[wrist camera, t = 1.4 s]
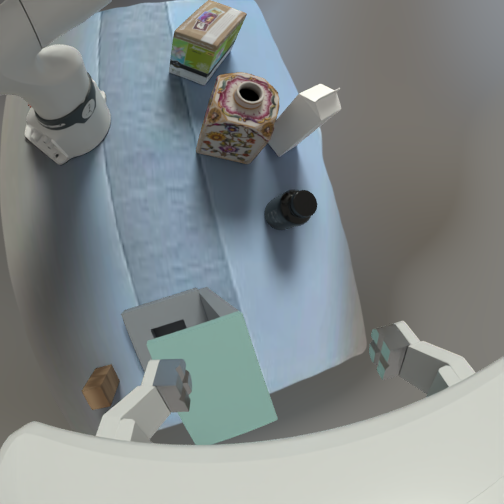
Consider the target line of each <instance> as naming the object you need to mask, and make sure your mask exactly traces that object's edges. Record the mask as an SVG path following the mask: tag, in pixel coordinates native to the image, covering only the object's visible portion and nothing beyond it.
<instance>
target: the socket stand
mask: <svg viewBox="0 0 504 504" xmlns="http://www.w3.org/2000/svg"><path fill="white" fill-rule="evenodd" d="M121 315H122V318H123V320H124V323H125V326H126V328H127V331H128V334H129V336H130V339H131V341H132V344H133V346H134V348H135V351H136V353H137V356H138V358H139V360H140V362H141V365H142V367H143V369H144V371H146V368H147V365H148V362H149V361H150V360H161V359H184V361H185V363H186V370H187V371H189V373H190V375H191V379H192V392H191V393H190V394H189V397H190V400H191V401H190V409H189V412H178V414H179V416H180V418H181V420H182V422H183V423H184V425H185V427H186V429H187V431H188V432H189V434H190V436H191V438H192V439H193V441H194V443H195V445H212V444H215V443H218V442H221V441H224V440H226V439H230V438H232V437H235V436H238V435H241V434H243V433H246V432H249V431H251V430H254V429H256V428H259V427H261V426H264V425H266V424H268V423H271V422H273V421H275V420H277V419H278V418H277V415H276V413H275V410H274V407H273V404H272V401H271V398H270V395H269V392H268V389H267V387H266V384H265V381H264V378H263V375H262V372H261V369H260V366H259V363H258V360H257V357H256V354H255V351H254V348H253V345H252V342H251V339H250V336H249V333H248V330H247V327H246V324H245V320H244V317H243V314H242V313H241V312H240V311H238V310H237V309H236V308H234V307H233V306H232V305H230V304H229V303H227V302H226V301H225V300H223V299H222V298H221V297H219V296H218V295H217V294H215V293H214V292H213V291H211V290H210V289H209V288H207V287H205V288H202V289H199V290H198V289H197V288H193V289H190V290H187V291H184V292H181V293H178V294H175V295H172V296H168V297H165V298H162V299H159V300H156V301H153V302H149V303H146V304H143V305H140V306H137V307H133V308H130V309H127V310H124V311H123V313H122V314H121Z"/></svg>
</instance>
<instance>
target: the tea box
mask: <svg viewBox="0 0 504 504" xmlns="http://www.w3.org/2000/svg"><path fill="white" fill-rule="evenodd" d="M245 17H246V13H244V12H242V11H239V10H236V9H234V8H231V7H228V6H225V5H223V4H220V3H217V2H214V1H211V0H208V1H207V2H206V3H204V4H203V5H202V6H201V7H200V8H199V9H198V10H197V11H195V12H194V13H193V14H192V15H191V16H190V17H189V18H188V19H187V20H186V21H185V22H183V23H182V24H181V25H180V26H179V27H178V28H177V29H176V30H175V32H174V37H173V44H172V51H171V59H170V67H169V72H170V73H172V74H175V75H178V76H180V77H183V78H186V79H188V80H191V81H194V82H196V83H199V84H201V85H205V84H206V83H207V82H208V80H209V79H210V78H211V76H212V75H213V74H214V72H215V71H216V69H217V68H218V67H219V65H220V64H221V63H222V61H223V60H224V59H225V57H226V56H227V55H228V53H229V52H230V51H231V49H232V47H233V44H234V42H235V40H236V37H237V35H238V33H239V31H240V28H241V26H242V24H243V22H244V19H245Z"/></svg>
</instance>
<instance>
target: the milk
mask: <svg viewBox="0 0 504 504" xmlns="http://www.w3.org/2000/svg"><path fill="white" fill-rule="evenodd" d="M339 89H340V88H339ZM339 89H336V90H332V89H330V88H328V87H326V86H324V85H322V84H319V85H317V86H315V87H313V88H310V89H308V90H306V91H304V92H302V93H300V94H298V96H297V97H296V98H295V99H294V100H293V101H292V102H291V104H290V105H289V106H288V107H287V108H286V109H285V111H284V112H283V113H282V114H281V115H280V116H279V118H278V119H277V120H276V122H275V124H274V131H273V133H272V136H271V139H270V141H269V142H268V144H269V145H270V146H271V147H272V149H273V150H274V151H275V153H276V154H277V155H278V156H279V157H280V156H282V155H283V154H284V153H286V152H287V151H289V150H290V149H292V148H293V147H295V146H297V145H298V144H299V143H300V142H301V141H303V140H304V139H305V138H306V137H307V136H309V135H310V134H311V133H312V132H314V131H315V130H316V129H317V128H318V127H320V126H321V125H322V124H323V123H325V122H326V121H327V120H328V119H329V118H331V117H332V116H333V115H334V114H336V113H337V112H338V111H340V110H341V105H340V102H339V99H338V95H337V93H336V92H337V91H338V90H339Z"/></svg>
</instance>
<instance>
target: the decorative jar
mask: <svg viewBox="0 0 504 504" xmlns="http://www.w3.org/2000/svg"><path fill="white" fill-rule="evenodd" d="M278 111H279V96H278V92H277V91H276V90H275V88H274V87H273V86H271V85H270V84H269V83H268V82H267V81H266V80H265V79H264V78H261V77H258V76H255V75H252V74H248V73H243V72H238V73H230V74H223V75H219V76H217V79H216V82H215V85H214V88H213V91H212V93H211V96H210V100H209V103H208V107H207V110H206V114H205V117H204V121H203V124H202V128H201V132H200V136H199V140H198V144H197V148H196V152H197V153H199V154H204V155H209V156H213V157H218V158H222V159H226V160H231V161H235V162H239V163H243V164H250V163H251V162H252V161H253V159H254V158H255V157H256V156H257V155H258V154H259V153H260V151H261V150H262V149H263V148H264V147H265V146H266V144H267V143H268V142H269V141H270V139H271V136H272V133H273V131H274V124H275V122H276V119H277V114H278Z"/></svg>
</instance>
